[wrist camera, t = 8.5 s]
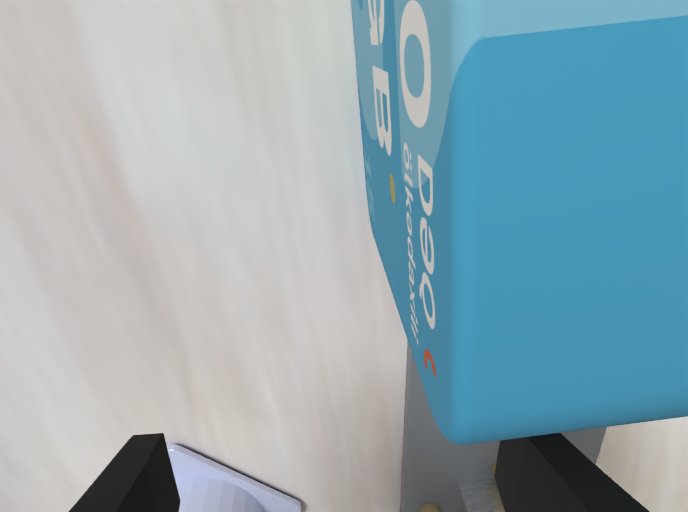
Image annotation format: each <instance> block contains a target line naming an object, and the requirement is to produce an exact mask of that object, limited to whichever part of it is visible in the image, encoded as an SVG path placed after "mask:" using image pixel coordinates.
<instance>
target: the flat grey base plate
mask: <svg viewBox="0 0 688 512" xmlns="http://www.w3.org/2000/svg"><path fill="white" fill-rule="evenodd" d="M605 430H606V427H600V428H593V429H585V430H577V431H570V432H562V433H561V434H562V435H563V436H564V437H566V438H567V439H568V440H569V441H570V442H571V443H572V444H573V445H574V446H575V447H576V448H577V449H579V450H580V451H581V452H582V453H583V454H584V455H585V456H586V457H587V458H588V459H589V460H591V461H592V462H593V463H594V464H596V461H597V457H598V454H599V451H600V447H601V444H602V441H603V437H604V434H605ZM499 444H500V441H493V442H485V443H477V444H469V445H456V444H454V443H452V442H450V441H449V440H447V439H446V438H445V437H444V435H443V434H442V433H441V431H440V430H439V428H438V426H437V424H436V422H435V420H434V417H433V414H432V412H431V409H430V406H429V403H428V400H427V397H426V394H425V391H424V388H423V385H422V381H421V378H420V375H419V372H418V369H417V366H416V363H415V360H414V357H413V354H412V351H411V348H410V345H409V342H408V347H407V369H406V391H405V414H404V436H403V458H402V480H401V503H400V512H454V505H455V497H456V488H457V481H465V480H478V479H491V478H494V474H495V468H496V462H497V456H498V450H499ZM494 480H495V478H494ZM495 483H496V481H495Z"/></svg>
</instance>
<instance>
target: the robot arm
mask: <svg viewBox="0 0 688 512" xmlns="http://www.w3.org/2000/svg"><path fill="white" fill-rule="evenodd" d="M494 478H495V481H496V485H497V488H498V491H499V495H500V498H501V501H502V504H503V507H504V510H505V512H649V511H648V510H647V509H646V508H645V507H643V506H642V505H641V504H640V503H639V502H637V501H636V500H635V499H634V498H633V497H631V496H630V495H629V494H628V493H627V492H626V491H625V490H623V489H622V488H621V487H620V486H619V485H618V484H616V483H615V482H614V481H613V480H612V479H611V478H610V477H608V476H607V475H606V474H605V473H604V472H603V471H602V470H601V469H599V468H598V467H597V466H596V465H595V464H594V463H593V462H592V461H591V460H589V459H588V458H587V457H586V456H585V455H584V454H583V453H582V452H581V451H580V450H579V449H577V448H576V447H575V446H574V445H573V444H572V443H571V442H570V441H569V440H568V439H567V438H566V437H564V436H563V435H562V434H561V433H554V434H546V435H539V436H531V437H523V438H516V439H508V440H500V444H499V450H498V456H497V462H496V468H495V474H494ZM69 512H301V503H300V502H299V501H298V500H296V499H294V498H291V497H289V496H287V495H285V494H283V493H281V492H279V491H276V490H274V489H272V488H270V487H268V486H266V485H263V484H261V483H259V482H257V481H255V480H253V479H251V478H248V477H246V476H244V475H242V474H240V473H238V472H235V471H233V470H231V469H229V468H227V467H225V466H223V465H220V464H218V463H216V462H214V461H212V460H210V459H207V458H205V457H203V456H201V455H199V454H197V453H194V452H192V451H190V450H188V449H186V448H184V447H182V446H179V445H176V444H171V445H168V446H166V442H165V438H164V434H163V433H159V434H145V435H133V436H132V437H131V438H130V439H129V440H128V441H127V443H126V444H125V445H124V446H123V447H122V449H121V450H120V451H119V452H118V453H117V455H116V456H115V457H114V458H113V459H112V461H111V462H110V463H109V464H108V466H107V467H106V468H105V469H104V470H103V472H102V473H101V474H100V475H99V476H98V478H97V479H96V480H95V481H94V482H93V484H92V485H91V486H90V487H89V488H88V490H87V491H86V492H85V493H84V494H83V496H82V497H81V498H80V499H79V500H78V502H77V503H76V504H75V505H74V506H73V507H72V508H71V510H70V511H69Z"/></svg>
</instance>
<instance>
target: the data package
mask: <svg viewBox="0 0 688 512" xmlns="http://www.w3.org/2000/svg"><path fill="white" fill-rule="evenodd" d="M351 7H352V19H353V32H354V44H355V56H356V68H357V81H358V93H359V105H360V117H361V130H362V142H363V154H364V166H365V179H366V191H367V200H368V208H369V215H370V222H371V227H372V232H373V235H374V239H375V242H376V245H377V248H378V251H379V254H380V257H381V260H382V263H383V266H384V269H385V272H386V275H387V278H388V281H389V284H390V287H391V290H392V293H393V296H394V299H395V303H396V306H397V309H398V312H399V315H400V318H401V321H402V324H403V327H404V330H405V333H406V336H407V339H408V342H409V345H410V348H411V351H412V354H413V357H414V360H415V363H416V366H417V369H418V372H419V375H420V378H421V381H422V385H423V388H424V391H425V394H426V397H427V400H428V403H429V406H430V409H431V412H432V414H433V417H434V420H435V422H436V424H437V426H438V428H439V430H440V431H441V433H442V434H443V435H444V437H445V438H446V439H447V440H449V441H450V442H452V443H454V444H456V445H469V444H477V443H485V442H493V441H500V440H508V439H516V438H523V437H531V436H539V435H546V434H554V433H562V432H570V431H577V430H585V429H593V428H600V427H608V426H616V425H624V424H631V423H639V422H647V421H654V420H662V419H670V418H677V417H685V416H688V0H351Z"/></svg>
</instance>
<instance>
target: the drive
mask: <svg viewBox="0 0 688 512" xmlns="http://www.w3.org/2000/svg"><path fill="white" fill-rule="evenodd" d="M454 512H505V510H504V507H503V504H502V501H501V498H500V495H499V491H498V488H497V485H496V483H495V480H494V478H491V479H478V480H465V481H457V488H456V497H455V505H454Z"/></svg>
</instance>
